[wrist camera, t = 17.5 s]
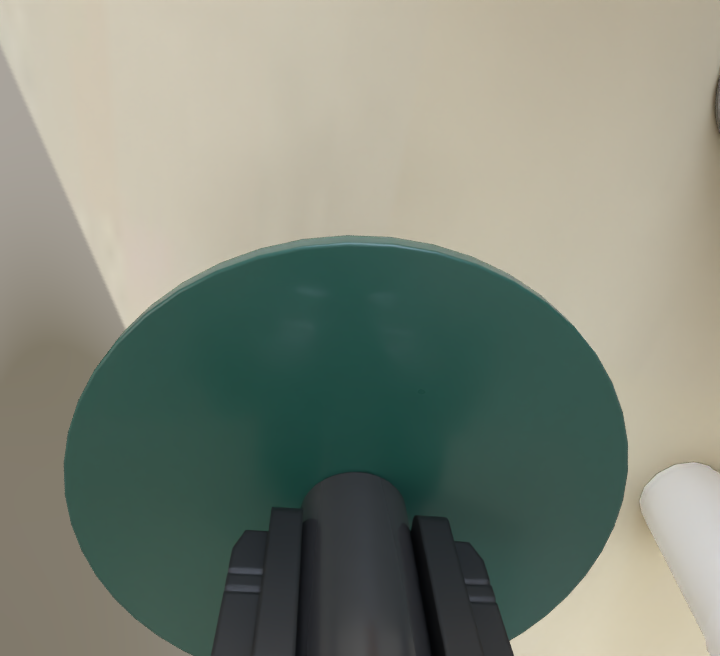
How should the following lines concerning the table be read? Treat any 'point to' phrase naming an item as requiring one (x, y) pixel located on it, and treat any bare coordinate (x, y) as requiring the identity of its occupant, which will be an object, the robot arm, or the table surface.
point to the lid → (345, 440)
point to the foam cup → (689, 537)
